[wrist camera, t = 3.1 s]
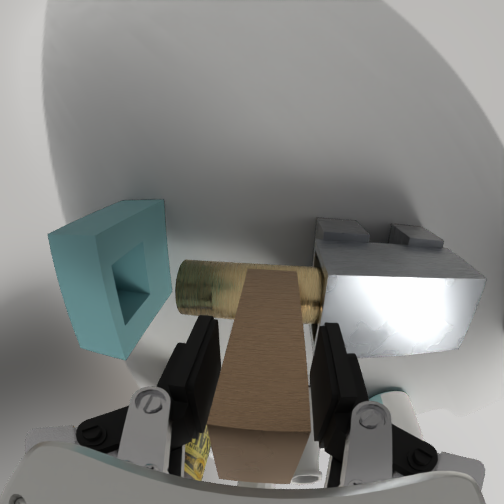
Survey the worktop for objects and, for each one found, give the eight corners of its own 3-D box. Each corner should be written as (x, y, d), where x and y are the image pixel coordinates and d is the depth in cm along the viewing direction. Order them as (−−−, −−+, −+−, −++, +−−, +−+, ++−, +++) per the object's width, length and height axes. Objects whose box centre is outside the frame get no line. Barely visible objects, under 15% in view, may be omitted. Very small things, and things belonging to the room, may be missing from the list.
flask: (265, 416, 28) (257, 487, 19) (280, 380, 26) (277, 464, 16) (321, 422, 28) (325, 490, 19) (345, 387, 26) (358, 466, 16)
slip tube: (436, 258, 15) (545, 373, 4) (421, 310, 17) (496, 436, 6) (190, 245, 16) (76, 388, 6) (194, 302, 18) (120, 453, 7)
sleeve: (427, 227, 19) (489, 270, 11) (411, 293, 21) (455, 354, 13) (310, 217, 20) (329, 264, 12) (302, 290, 22) (311, 364, 14)
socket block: (163, 199, 20) (95, 235, 12) (172, 291, 23) (125, 360, 15) (122, 200, 20) (47, 234, 12) (134, 287, 23) (80, 347, 15)
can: (411, 405, 26) (435, 478, 15) (363, 426, 28) (375, 502, 17) (402, 378, 25) (432, 465, 14) (346, 403, 27) (359, 493, 15)
